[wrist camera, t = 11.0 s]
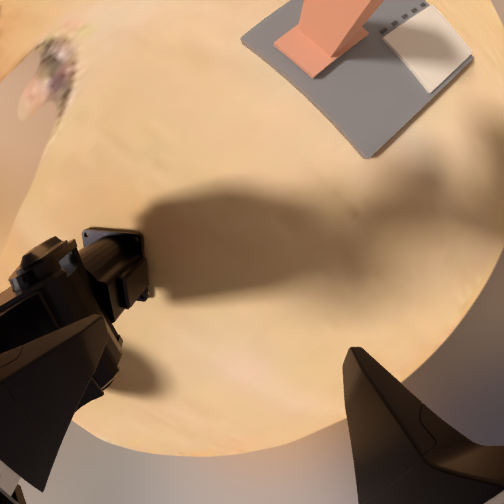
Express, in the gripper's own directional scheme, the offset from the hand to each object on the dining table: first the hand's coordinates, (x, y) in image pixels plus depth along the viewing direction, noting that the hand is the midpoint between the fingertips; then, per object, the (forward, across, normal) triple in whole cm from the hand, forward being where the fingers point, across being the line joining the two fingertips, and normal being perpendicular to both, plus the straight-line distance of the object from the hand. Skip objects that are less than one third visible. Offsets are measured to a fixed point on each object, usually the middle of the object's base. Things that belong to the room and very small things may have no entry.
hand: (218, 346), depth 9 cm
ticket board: (+13, -8, -17) cm, 23 cm away
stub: (+12, -4, -15) cm, 19 cm away
